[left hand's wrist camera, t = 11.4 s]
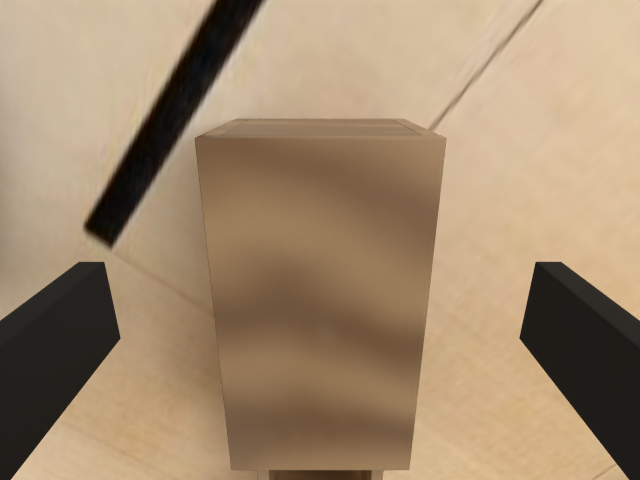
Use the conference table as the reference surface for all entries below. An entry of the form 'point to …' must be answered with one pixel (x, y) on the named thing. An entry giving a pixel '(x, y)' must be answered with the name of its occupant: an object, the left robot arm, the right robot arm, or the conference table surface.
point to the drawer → (320, 474)
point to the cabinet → (320, 285)
